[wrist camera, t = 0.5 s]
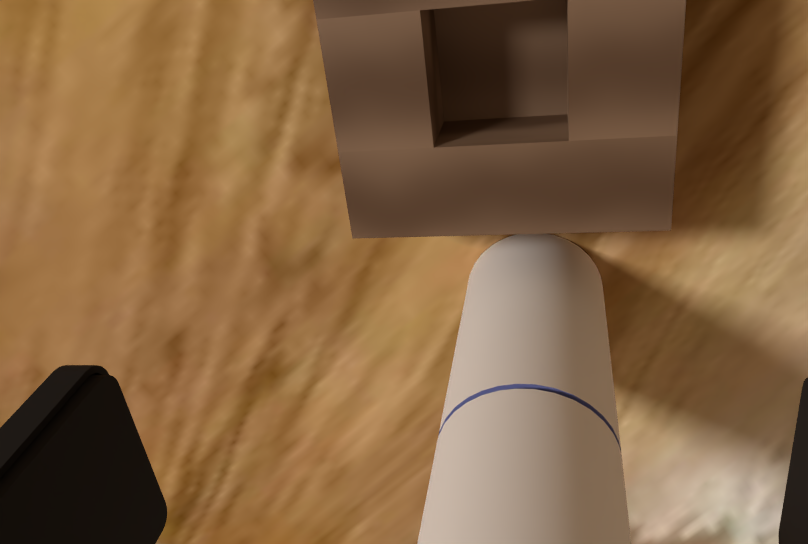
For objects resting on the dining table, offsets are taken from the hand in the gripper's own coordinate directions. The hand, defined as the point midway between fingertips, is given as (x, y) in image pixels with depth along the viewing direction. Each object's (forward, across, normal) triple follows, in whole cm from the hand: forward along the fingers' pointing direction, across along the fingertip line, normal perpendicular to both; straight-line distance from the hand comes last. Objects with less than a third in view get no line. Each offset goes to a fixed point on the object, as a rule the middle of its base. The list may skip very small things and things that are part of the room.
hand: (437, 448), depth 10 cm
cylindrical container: (+27, 0, +14) cm, 31 cm away
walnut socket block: (+27, +1, +1) cm, 27 cm away
